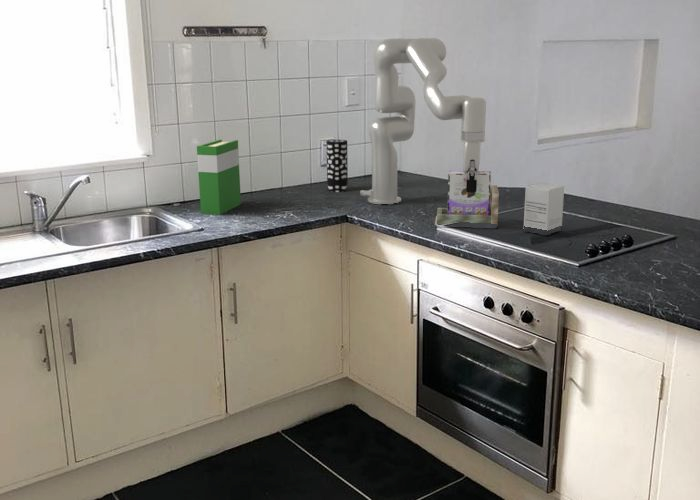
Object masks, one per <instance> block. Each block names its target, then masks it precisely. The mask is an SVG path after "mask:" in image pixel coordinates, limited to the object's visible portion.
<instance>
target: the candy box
mask: <svg viewBox="0 0 700 500" xmlns="http://www.w3.org/2000/svg"><path fill="white" fill-rule="evenodd" d="M491 175H492V171H491V170H490V171H489V170H488V171H486V170H485V171H484V170H483V171H481V170H478V173H476V180H477V188H476V192H466V184H467V180H468V171H467V172H465V173H464V172H463V170H449V172H448V175H447V177H448V178H447V182H448V183H447V208H448V214H451V215H489V214H490V194H491V185H492V182H491V181H492V178H491V177H492V176H491Z"/></svg>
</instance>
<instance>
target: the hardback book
mask: <svg viewBox="0 0 700 500" xmlns="http://www.w3.org/2000/svg"><path fill="white" fill-rule="evenodd" d="M196 153H197V154H196V157H197V171H198V172H197V173H198V188H199V203H200V214H203V215H206V214H207V215H217V216H218V215H219V216H220V215H223V214H225V213H226V212H229V211H231V210H232V209H234V208H236V207H238V206H240V205H242V200H241V199H242V197H241V176H240V157H239V156H240V155H239V140H238V139H235V140H231V141H222V139H217V140H214V141H213V140H212V141H210V142H207V143H204V144H200V145H197V146H196Z"/></svg>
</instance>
